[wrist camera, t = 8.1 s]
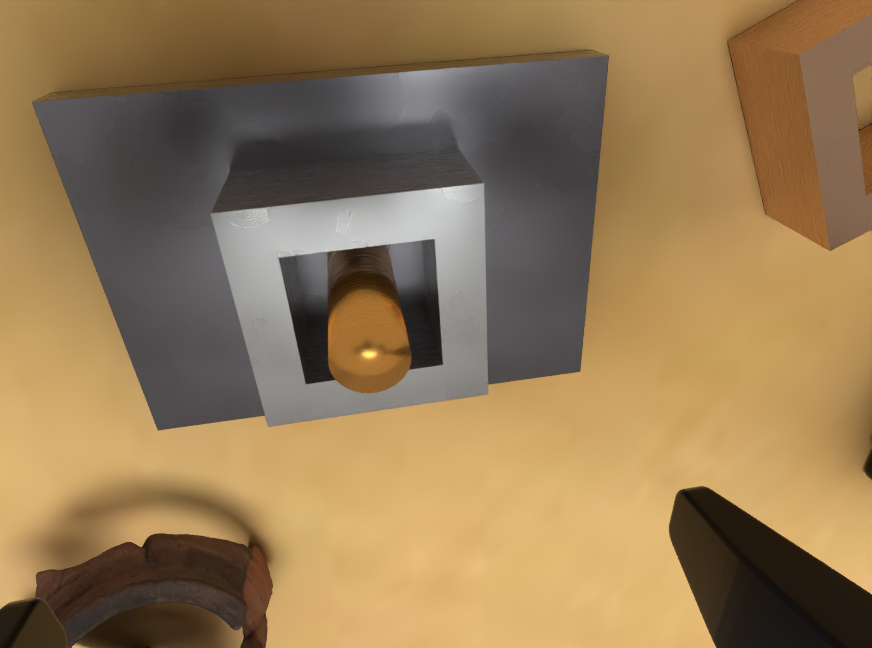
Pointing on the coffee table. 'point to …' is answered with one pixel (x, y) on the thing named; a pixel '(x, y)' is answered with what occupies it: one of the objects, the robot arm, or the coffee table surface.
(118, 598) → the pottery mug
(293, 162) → the keeper
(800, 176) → the brown hollow square block
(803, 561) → the robot arm
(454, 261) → the grey square frame
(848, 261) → the coffee table surface
